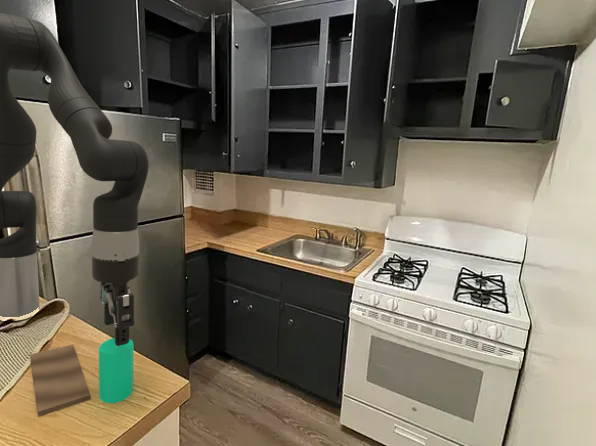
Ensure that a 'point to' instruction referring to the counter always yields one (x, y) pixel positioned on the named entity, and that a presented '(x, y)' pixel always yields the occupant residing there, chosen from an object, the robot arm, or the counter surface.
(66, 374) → the board
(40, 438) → the counter surface
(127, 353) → the candle
